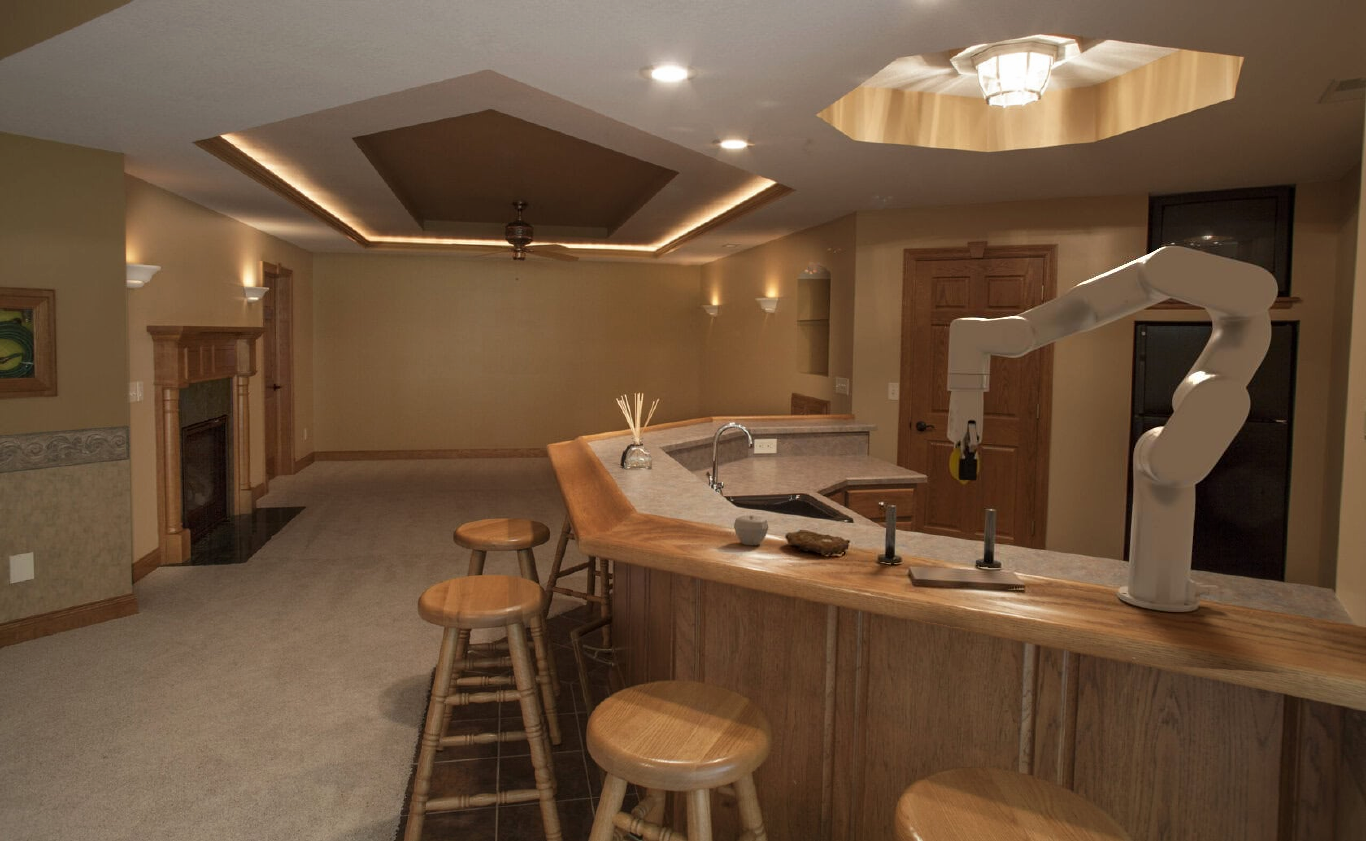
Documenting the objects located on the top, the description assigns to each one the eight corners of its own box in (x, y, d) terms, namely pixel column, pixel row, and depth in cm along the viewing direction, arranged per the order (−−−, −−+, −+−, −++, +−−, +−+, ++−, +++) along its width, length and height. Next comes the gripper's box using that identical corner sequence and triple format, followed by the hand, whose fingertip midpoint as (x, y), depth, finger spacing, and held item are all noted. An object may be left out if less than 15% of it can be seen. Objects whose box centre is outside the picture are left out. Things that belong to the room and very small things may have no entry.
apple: (748, 549, 179) (749, 520, 179) (726, 542, 186) (726, 514, 185) (775, 545, 184) (776, 516, 184) (752, 538, 190) (753, 510, 190)
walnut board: (1012, 577, 160) (1012, 571, 160) (1024, 590, 151) (1025, 584, 151) (908, 572, 163) (908, 566, 163) (914, 584, 154) (915, 578, 154)
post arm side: (997, 564, 170) (1000, 508, 169) (1003, 570, 165) (1006, 512, 164) (973, 563, 171) (975, 507, 170) (978, 569, 166) (980, 511, 165)
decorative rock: (772, 552, 180) (834, 565, 172) (772, 534, 179) (835, 546, 171) (794, 540, 189) (855, 551, 181) (795, 523, 189) (856, 533, 180)
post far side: (900, 559, 173) (902, 504, 172) (903, 565, 168) (905, 508, 167) (876, 558, 174) (878, 503, 172) (878, 564, 169) (880, 507, 168)
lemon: (980, 487, 152) (982, 445, 151) (950, 486, 153) (952, 444, 153) (976, 482, 158) (978, 442, 157) (946, 481, 159) (948, 441, 158)
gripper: (940, 381, 163) (936, 470, 164) (956, 385, 146) (951, 484, 147) (979, 382, 162) (975, 471, 163) (999, 385, 145) (994, 485, 146)
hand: (964, 476), depth 155 cm, fingers closed on lemon, 5 cm apart
